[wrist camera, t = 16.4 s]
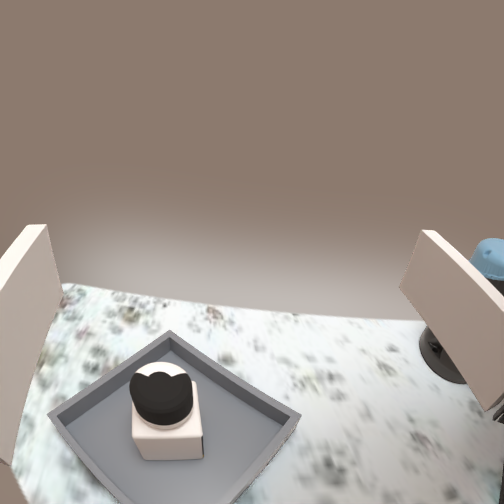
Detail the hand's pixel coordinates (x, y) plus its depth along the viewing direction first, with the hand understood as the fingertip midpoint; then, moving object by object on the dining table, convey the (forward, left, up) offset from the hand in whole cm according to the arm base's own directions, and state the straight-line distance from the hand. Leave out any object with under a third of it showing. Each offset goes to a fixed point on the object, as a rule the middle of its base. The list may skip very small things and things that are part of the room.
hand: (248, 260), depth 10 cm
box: (+10, -3, -32) cm, 34 cm away
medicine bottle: (+10, -3, -31) cm, 33 cm away
